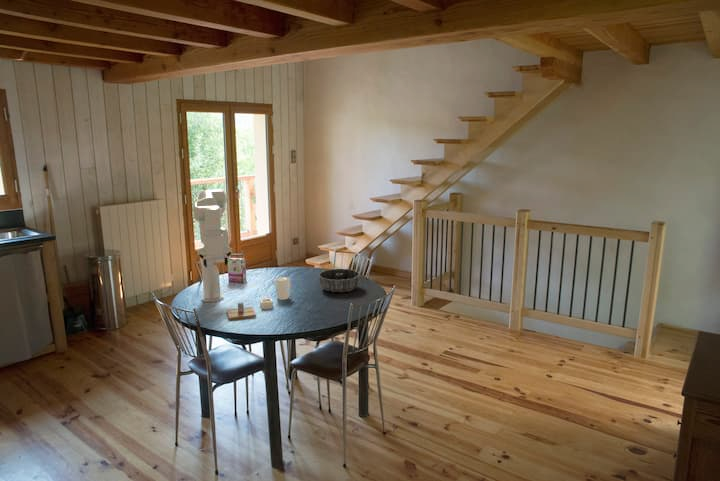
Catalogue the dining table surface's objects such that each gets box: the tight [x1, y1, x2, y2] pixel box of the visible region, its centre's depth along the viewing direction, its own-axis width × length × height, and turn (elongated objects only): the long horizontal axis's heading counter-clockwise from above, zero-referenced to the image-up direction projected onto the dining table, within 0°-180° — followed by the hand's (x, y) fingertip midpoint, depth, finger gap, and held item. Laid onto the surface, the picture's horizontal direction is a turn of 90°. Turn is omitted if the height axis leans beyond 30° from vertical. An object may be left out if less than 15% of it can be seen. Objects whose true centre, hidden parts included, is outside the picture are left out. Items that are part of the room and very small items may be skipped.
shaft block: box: [226, 301, 257, 321], centre depth 269 cm, size 14×14×6 cm
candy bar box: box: [227, 257, 247, 284], centre depth 332 cm, size 11×5×16 cm, turn 73°
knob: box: [259, 297, 274, 310], centre depth 283 cm, size 8×6×4 cm
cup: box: [274, 276, 291, 301], centre depth 297 cm, size 9×9×12 cm
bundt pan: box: [317, 268, 361, 293], centre depth 315 cm, size 26×26×10 cm
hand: (215, 266), depth 252 cm, fingers open, 9 cm apart
